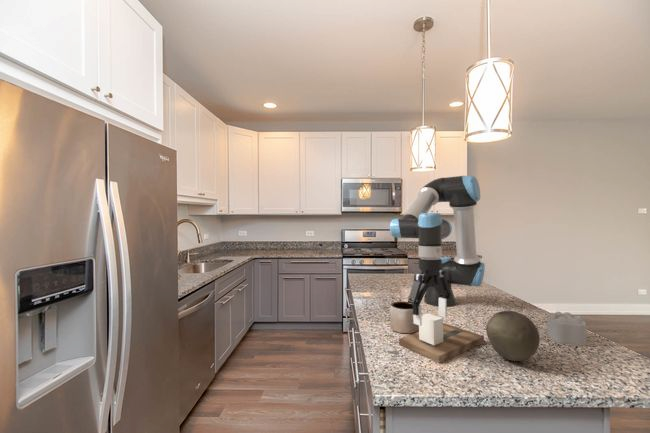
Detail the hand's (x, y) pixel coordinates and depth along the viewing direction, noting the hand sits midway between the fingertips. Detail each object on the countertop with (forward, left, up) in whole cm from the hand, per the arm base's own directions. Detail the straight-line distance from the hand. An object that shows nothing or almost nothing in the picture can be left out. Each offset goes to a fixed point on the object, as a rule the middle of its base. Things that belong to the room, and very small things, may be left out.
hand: (430, 320), depth 102 cm
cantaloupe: (-13, +20, -10) cm, 26 cm away
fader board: (-6, 0, -10) cm, 11 cm away
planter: (-6, -17, -10) cm, 21 cm away
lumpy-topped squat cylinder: (-47, +23, -10) cm, 53 cm away
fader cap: (0, 0, -7) cm, 7 cm away
